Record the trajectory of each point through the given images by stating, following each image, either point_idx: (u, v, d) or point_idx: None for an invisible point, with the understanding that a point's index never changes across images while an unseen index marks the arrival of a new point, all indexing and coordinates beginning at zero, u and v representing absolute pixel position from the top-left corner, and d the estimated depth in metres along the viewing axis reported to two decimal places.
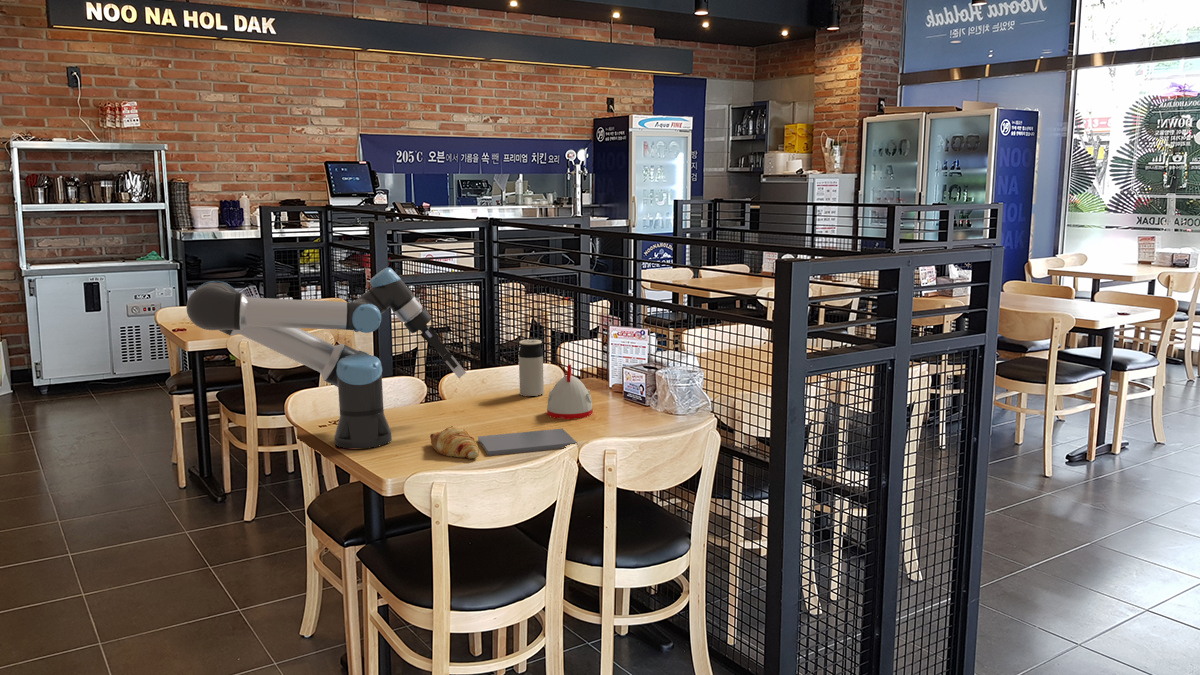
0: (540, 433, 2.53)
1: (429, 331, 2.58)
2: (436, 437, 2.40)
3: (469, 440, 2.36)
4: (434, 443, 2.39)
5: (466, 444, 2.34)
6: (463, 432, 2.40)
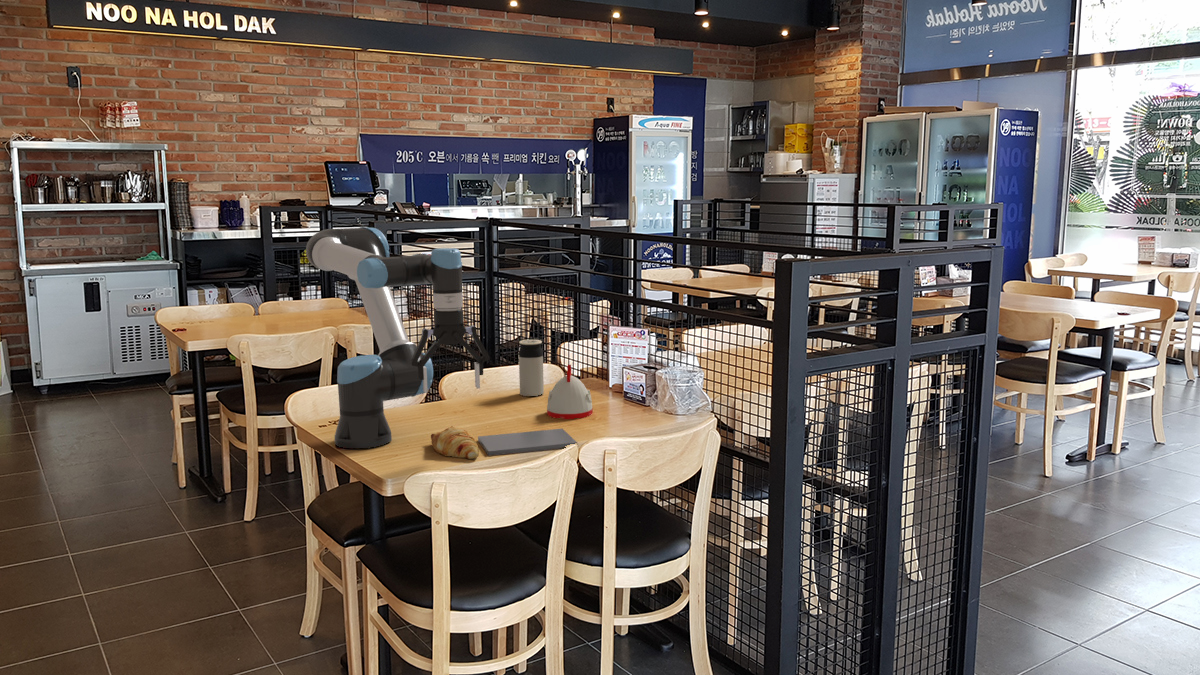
0: (540, 433, 2.53)
1: (423, 331, 2.33)
2: (436, 437, 2.40)
3: (469, 440, 2.36)
4: (434, 443, 2.39)
5: (466, 444, 2.34)
6: (463, 432, 2.40)
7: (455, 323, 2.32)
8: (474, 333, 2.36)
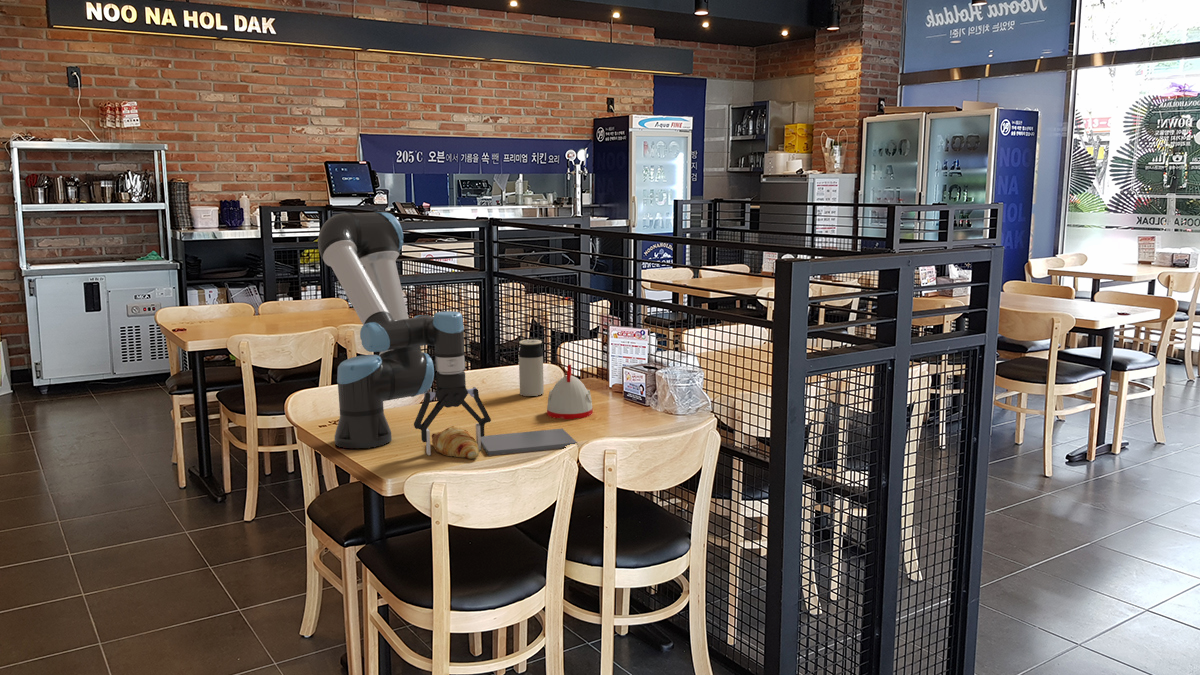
0: (540, 433, 2.53)
1: (425, 394, 2.35)
2: (437, 437, 2.40)
3: (469, 440, 2.36)
4: (435, 443, 2.40)
5: (466, 444, 2.34)
6: (464, 432, 2.40)
7: (457, 386, 2.34)
8: (476, 395, 2.39)
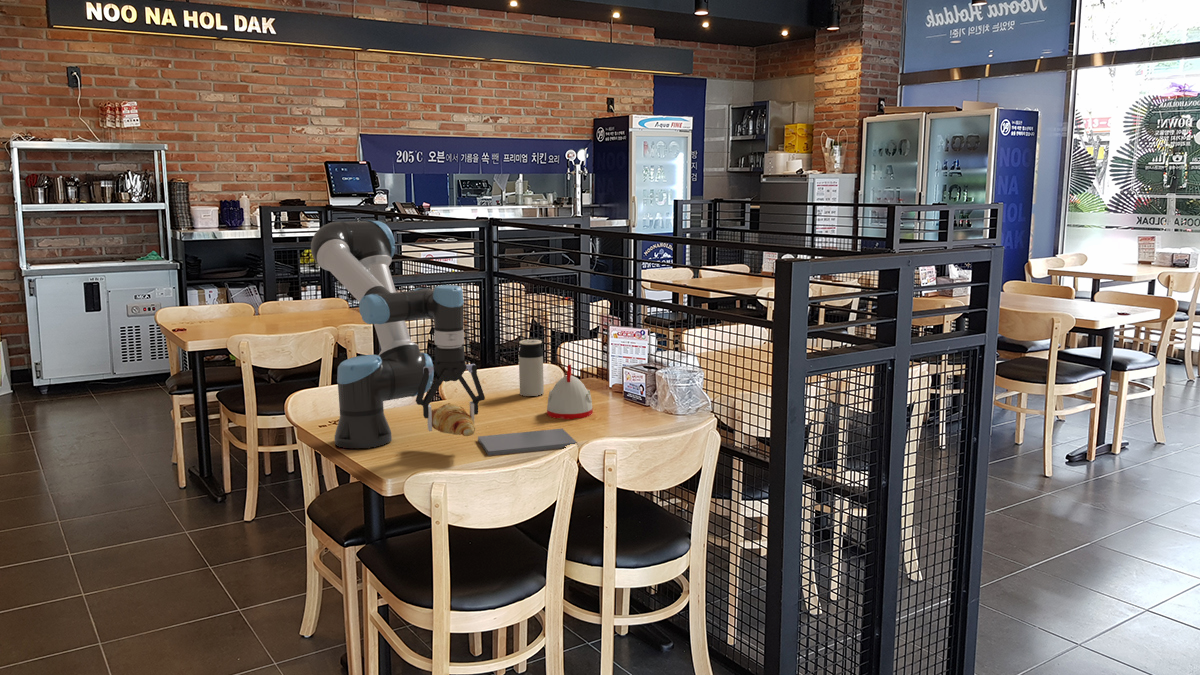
0: (540, 433, 2.53)
1: (423, 369, 2.34)
2: (433, 413, 2.40)
3: (465, 417, 2.36)
4: None
5: (462, 421, 2.34)
6: (460, 409, 2.39)
7: (456, 361, 2.33)
8: (474, 372, 2.38)
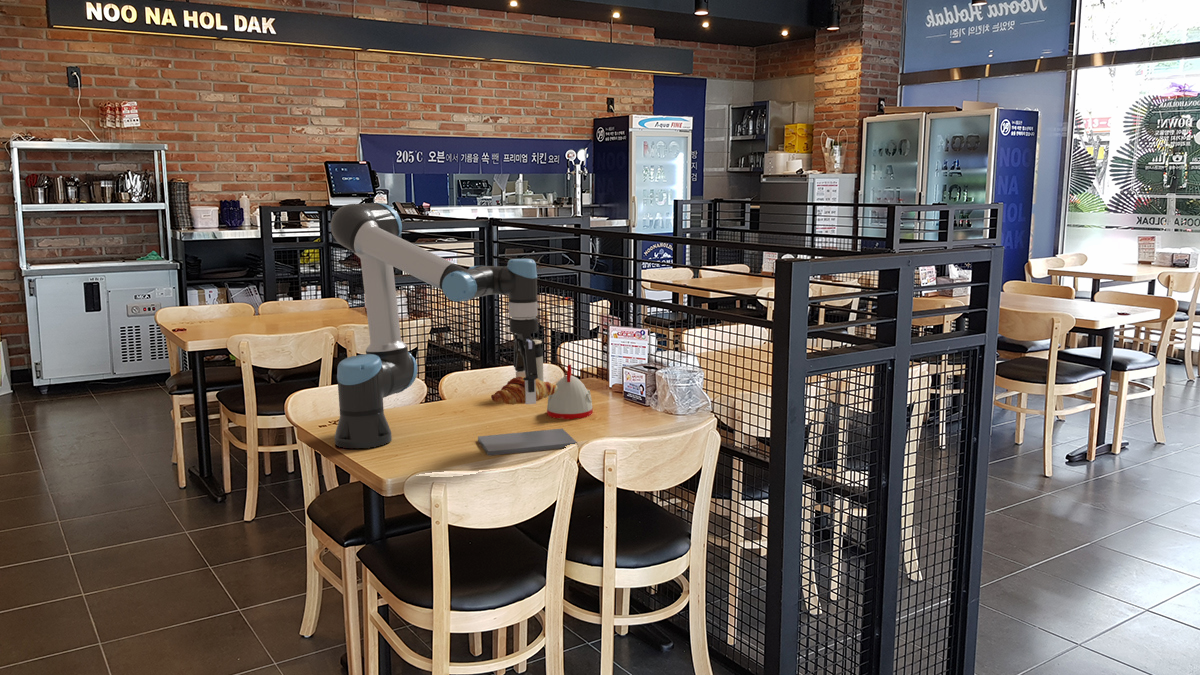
0: (540, 433, 2.53)
1: (532, 343, 2.36)
2: (522, 389, 2.40)
3: None
4: None
5: (547, 382, 2.48)
6: None
7: None
8: None
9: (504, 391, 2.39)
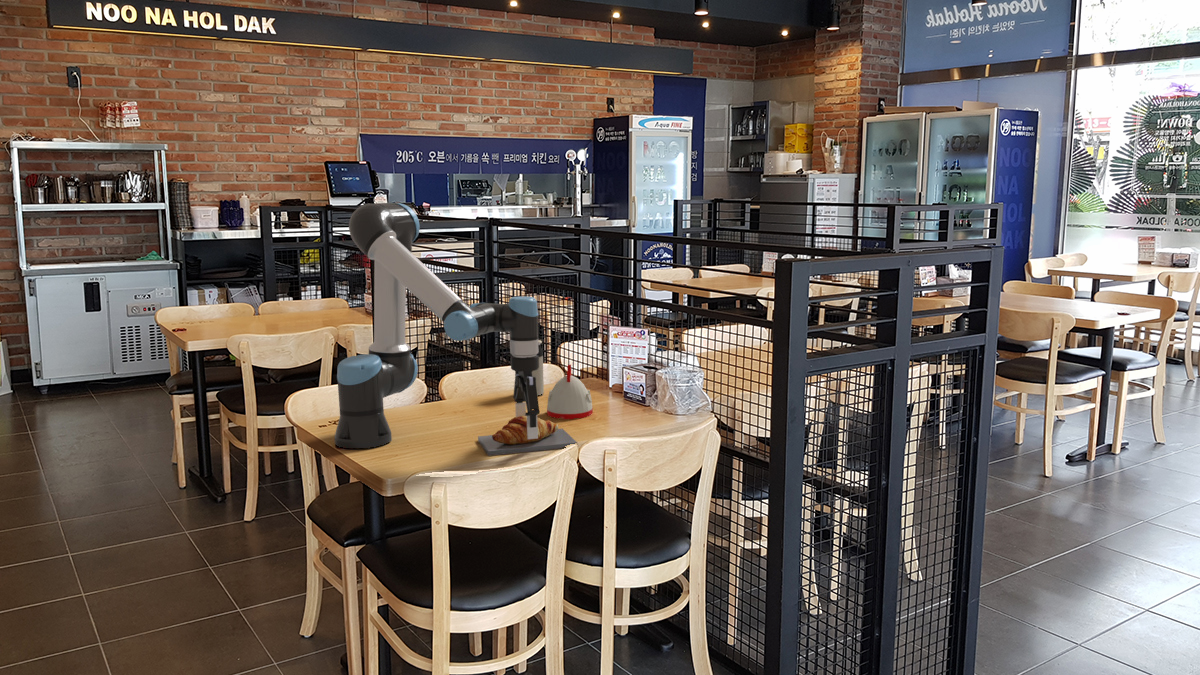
0: None
1: (533, 379, 2.38)
2: (523, 429, 2.42)
3: None
4: (526, 434, 2.42)
5: (548, 421, 2.50)
6: None
7: None
8: None
9: (505, 431, 2.41)
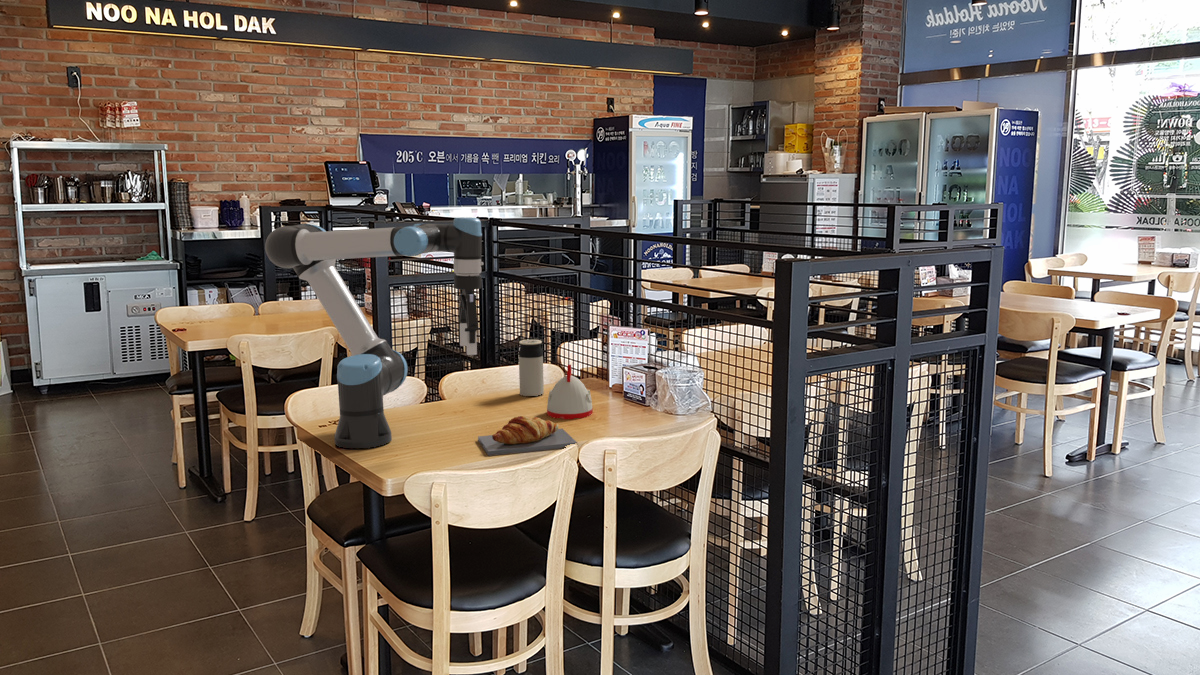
0: None
1: (473, 296, 2.46)
2: (523, 429, 2.42)
3: None
4: (526, 434, 2.42)
5: (548, 421, 2.50)
6: None
7: None
8: None
9: (505, 431, 2.41)
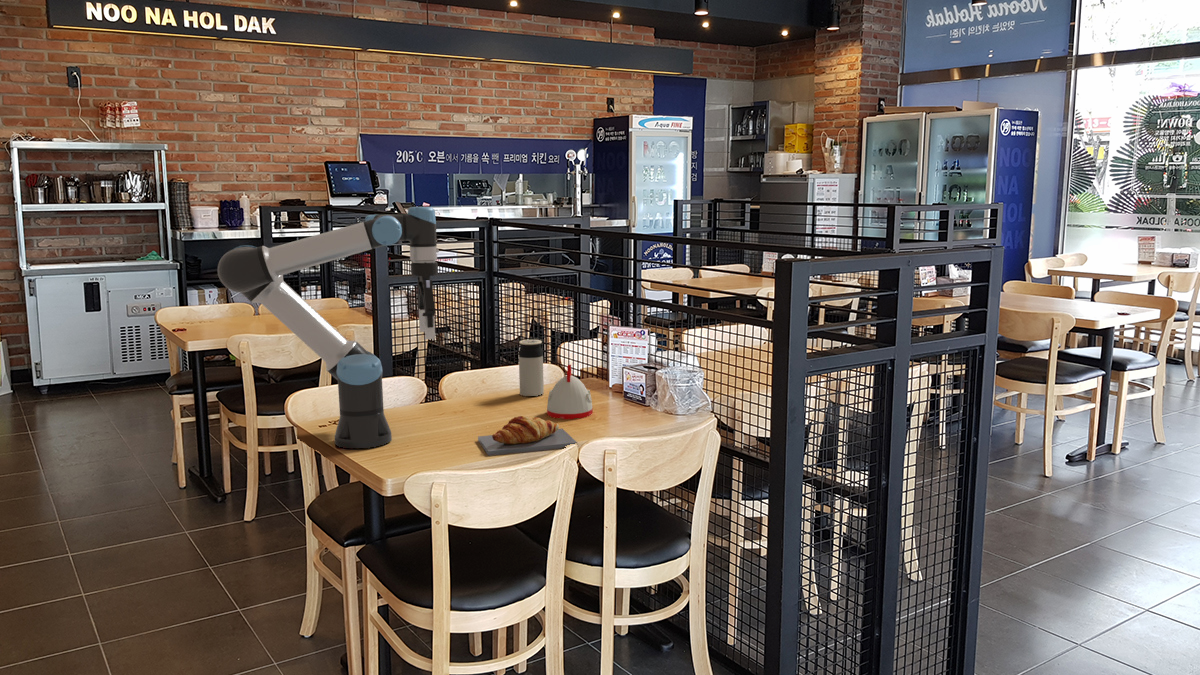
0: None
1: (430, 282, 2.55)
2: (523, 428, 2.42)
3: None
4: (526, 434, 2.42)
5: (548, 421, 2.50)
6: None
7: None
8: None
9: (505, 431, 2.41)
